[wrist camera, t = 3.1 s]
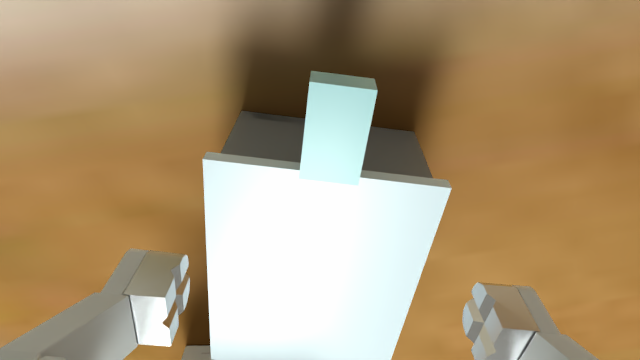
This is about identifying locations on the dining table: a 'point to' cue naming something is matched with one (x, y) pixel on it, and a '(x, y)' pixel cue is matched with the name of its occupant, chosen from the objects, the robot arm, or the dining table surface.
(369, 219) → the lid
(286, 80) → the dining table surface
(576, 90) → the dining table surface
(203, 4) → the dining table surface
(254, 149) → the tub
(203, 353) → the supplement box
